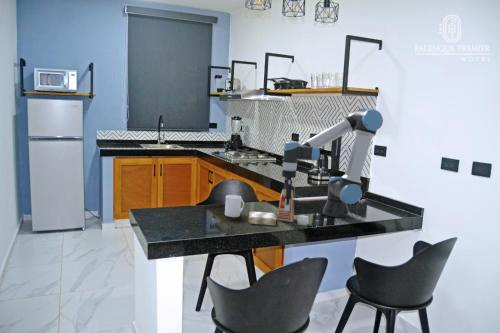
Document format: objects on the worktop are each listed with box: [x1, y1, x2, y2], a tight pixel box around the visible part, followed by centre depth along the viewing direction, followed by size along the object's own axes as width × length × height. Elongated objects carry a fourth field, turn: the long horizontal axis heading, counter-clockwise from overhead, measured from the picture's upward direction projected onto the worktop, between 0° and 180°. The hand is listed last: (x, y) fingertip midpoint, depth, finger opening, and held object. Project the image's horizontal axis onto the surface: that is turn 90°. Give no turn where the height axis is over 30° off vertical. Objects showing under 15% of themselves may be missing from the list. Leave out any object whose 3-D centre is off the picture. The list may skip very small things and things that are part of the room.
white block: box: [296, 214, 310, 226], centre depth 222 cm, size 6×6×4 cm
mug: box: [224, 194, 245, 218], centre depth 229 cm, size 9×12×11 cm
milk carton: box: [275, 187, 295, 223], centre depth 229 cm, size 9×9×20 cm
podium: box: [248, 211, 277, 226], centre depth 221 cm, size 14×14×3 cm
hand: (285, 207), depth 229 cm, fingers open, 13 cm apart
